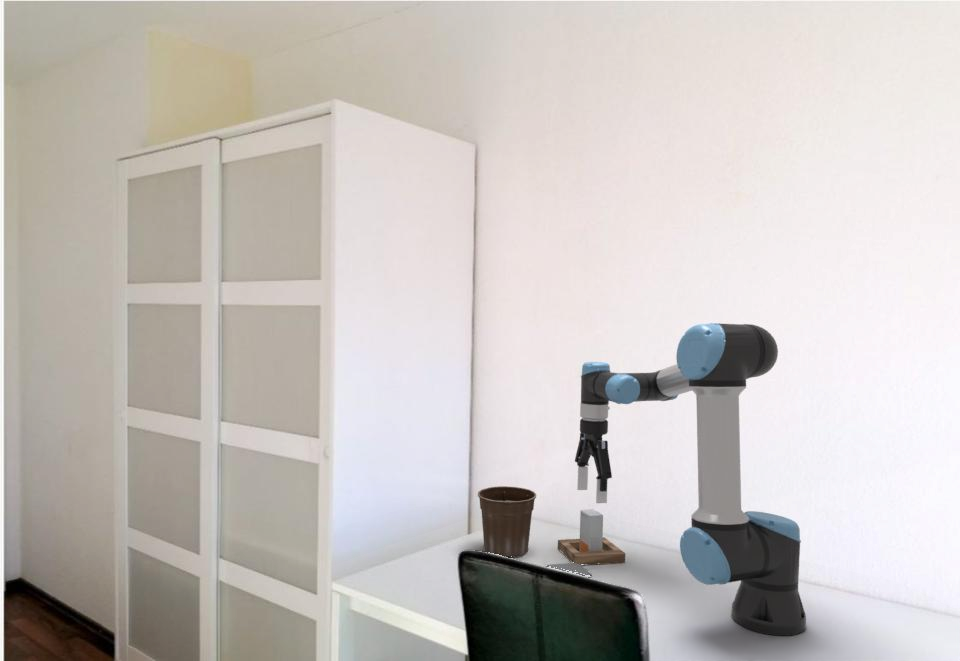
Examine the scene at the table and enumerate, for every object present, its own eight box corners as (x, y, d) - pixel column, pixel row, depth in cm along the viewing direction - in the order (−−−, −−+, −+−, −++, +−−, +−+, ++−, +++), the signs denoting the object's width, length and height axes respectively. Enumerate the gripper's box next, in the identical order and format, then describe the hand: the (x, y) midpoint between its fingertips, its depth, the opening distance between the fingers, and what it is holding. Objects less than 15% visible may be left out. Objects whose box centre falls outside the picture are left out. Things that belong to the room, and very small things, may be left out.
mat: (591, 577, 186) (591, 574, 186) (557, 579, 184) (557, 576, 184) (578, 564, 194) (578, 562, 194) (546, 567, 192) (546, 564, 192)
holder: (625, 562, 197) (625, 553, 197) (575, 565, 194) (576, 556, 194) (604, 546, 211) (604, 537, 211) (557, 548, 207) (557, 539, 207)
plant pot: (518, 565, 193) (519, 504, 193) (465, 554, 201) (466, 495, 201) (544, 548, 207) (546, 491, 207) (494, 538, 215) (495, 483, 215)
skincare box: (578, 552, 204) (579, 509, 204) (592, 551, 206) (593, 508, 205) (588, 559, 199) (589, 515, 198) (602, 558, 200) (603, 514, 200)
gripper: (626, 426, 190) (623, 508, 191) (589, 411, 214) (587, 484, 215) (599, 426, 188) (596, 509, 189) (565, 412, 212) (562, 485, 213)
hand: (591, 496), depth 202 cm, fingers open, 13 cm apart
